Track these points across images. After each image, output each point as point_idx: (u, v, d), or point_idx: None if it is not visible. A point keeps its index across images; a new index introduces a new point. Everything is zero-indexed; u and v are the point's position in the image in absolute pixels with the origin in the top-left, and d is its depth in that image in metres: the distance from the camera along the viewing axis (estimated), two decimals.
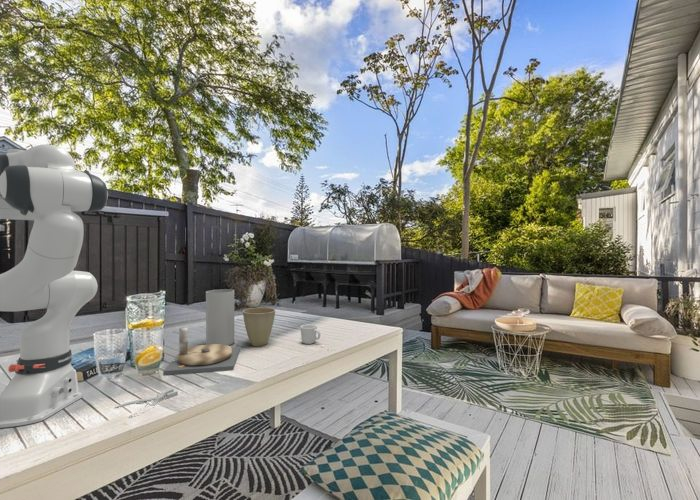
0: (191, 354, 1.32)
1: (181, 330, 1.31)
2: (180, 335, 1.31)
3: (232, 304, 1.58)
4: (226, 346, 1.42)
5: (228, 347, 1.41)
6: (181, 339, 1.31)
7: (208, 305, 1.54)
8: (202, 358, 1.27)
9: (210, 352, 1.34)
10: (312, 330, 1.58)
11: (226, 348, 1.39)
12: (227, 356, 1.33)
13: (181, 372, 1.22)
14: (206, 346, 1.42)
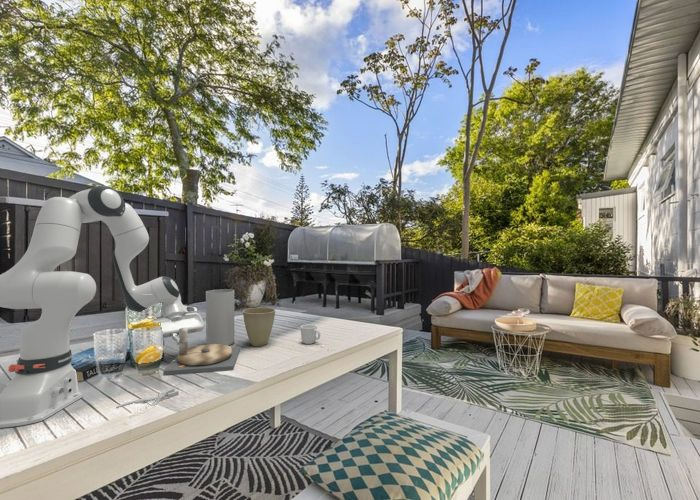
0: (191, 354, 1.31)
1: (181, 330, 1.30)
2: (180, 335, 1.31)
3: (232, 304, 1.58)
4: (225, 346, 1.42)
5: (228, 347, 1.41)
6: (181, 339, 1.31)
7: (208, 305, 1.54)
8: (203, 358, 1.27)
9: (210, 352, 1.34)
10: (312, 330, 1.58)
11: (226, 348, 1.39)
12: (228, 356, 1.33)
13: (181, 372, 1.22)
14: (205, 346, 1.42)
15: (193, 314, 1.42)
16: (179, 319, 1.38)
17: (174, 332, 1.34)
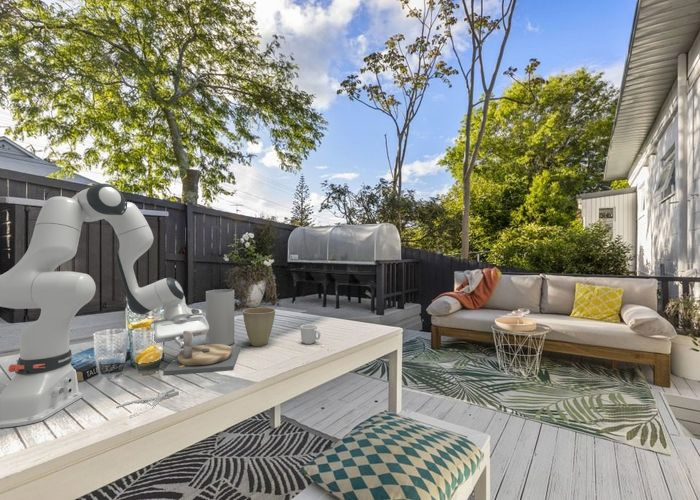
0: (198, 355, 1.30)
1: (188, 332, 1.27)
2: (187, 338, 1.27)
3: (232, 304, 1.58)
4: (214, 344, 1.44)
5: (219, 344, 1.44)
6: (188, 342, 1.27)
7: (208, 305, 1.54)
8: (218, 355, 1.31)
9: (213, 351, 1.36)
10: (312, 330, 1.58)
11: (220, 345, 1.43)
12: None
13: (181, 372, 1.22)
14: (194, 348, 1.39)
15: (198, 316, 1.38)
16: (184, 322, 1.34)
17: (178, 335, 1.30)
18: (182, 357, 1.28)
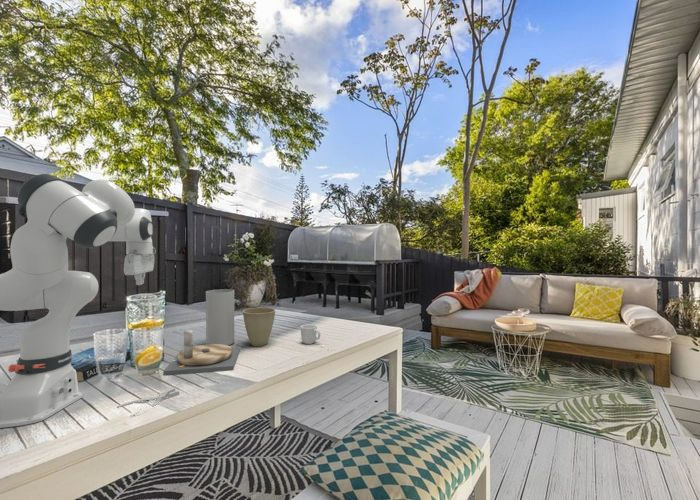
0: (198, 355, 1.30)
1: (189, 332, 1.27)
2: (188, 338, 1.27)
3: (232, 304, 1.58)
4: (213, 344, 1.44)
5: (218, 344, 1.44)
6: (189, 342, 1.27)
7: (208, 305, 1.54)
8: (219, 355, 1.31)
9: (213, 351, 1.36)
10: (312, 330, 1.58)
11: (220, 345, 1.43)
12: None
13: (181, 372, 1.22)
14: (193, 349, 1.38)
15: (152, 256, 1.40)
16: (145, 259, 1.35)
17: (141, 273, 1.32)
18: (183, 357, 1.28)
